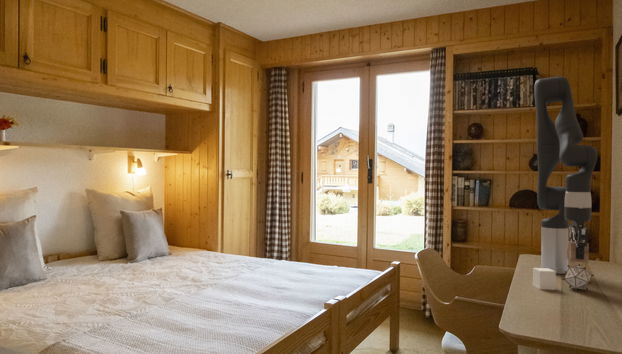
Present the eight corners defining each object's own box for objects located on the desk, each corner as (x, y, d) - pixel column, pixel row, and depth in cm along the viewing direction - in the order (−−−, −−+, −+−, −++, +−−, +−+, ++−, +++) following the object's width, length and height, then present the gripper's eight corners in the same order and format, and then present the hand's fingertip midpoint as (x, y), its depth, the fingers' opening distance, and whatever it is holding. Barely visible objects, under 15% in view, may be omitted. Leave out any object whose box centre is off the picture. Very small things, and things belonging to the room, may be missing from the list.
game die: (584, 302, 140) (602, 281, 134) (557, 291, 142) (574, 270, 136) (580, 283, 147) (597, 263, 142) (555, 273, 149) (570, 252, 143)
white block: (532, 285, 146) (532, 267, 146) (548, 286, 146) (548, 268, 146) (539, 289, 141) (539, 271, 141) (555, 289, 141) (555, 271, 141)
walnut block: (567, 258, 145) (567, 240, 145) (584, 259, 143) (584, 241, 143) (570, 261, 140) (570, 242, 140) (588, 262, 139) (588, 243, 139)
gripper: (559, 204, 150) (559, 253, 150) (570, 206, 136) (570, 261, 136) (584, 205, 147) (584, 255, 147) (598, 207, 134) (597, 262, 134)
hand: (577, 257), depth 142 cm, fingers closed on walnut block, 4 cm apart
